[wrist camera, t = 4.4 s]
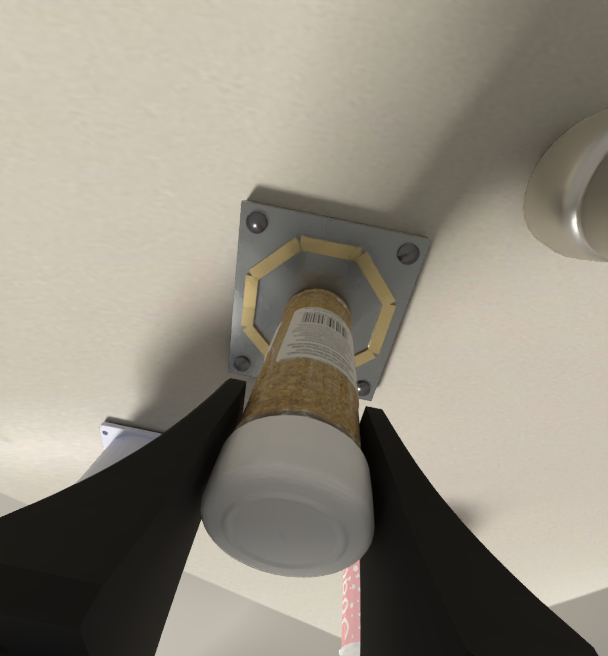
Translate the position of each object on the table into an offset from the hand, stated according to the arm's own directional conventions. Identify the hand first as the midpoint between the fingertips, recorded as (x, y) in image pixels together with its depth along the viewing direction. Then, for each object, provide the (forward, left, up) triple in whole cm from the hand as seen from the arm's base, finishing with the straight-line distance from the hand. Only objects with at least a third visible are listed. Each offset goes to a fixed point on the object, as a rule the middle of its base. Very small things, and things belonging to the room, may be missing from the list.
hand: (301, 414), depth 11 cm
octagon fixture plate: (-1, 0, -10) cm, 10 cm away
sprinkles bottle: (0, 0, -9) cm, 9 cm away
